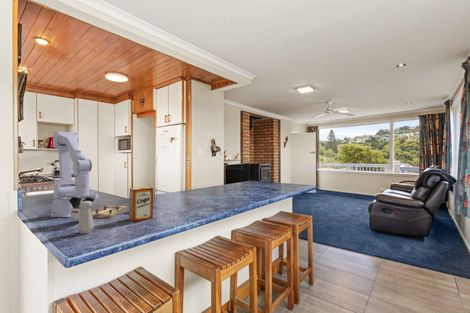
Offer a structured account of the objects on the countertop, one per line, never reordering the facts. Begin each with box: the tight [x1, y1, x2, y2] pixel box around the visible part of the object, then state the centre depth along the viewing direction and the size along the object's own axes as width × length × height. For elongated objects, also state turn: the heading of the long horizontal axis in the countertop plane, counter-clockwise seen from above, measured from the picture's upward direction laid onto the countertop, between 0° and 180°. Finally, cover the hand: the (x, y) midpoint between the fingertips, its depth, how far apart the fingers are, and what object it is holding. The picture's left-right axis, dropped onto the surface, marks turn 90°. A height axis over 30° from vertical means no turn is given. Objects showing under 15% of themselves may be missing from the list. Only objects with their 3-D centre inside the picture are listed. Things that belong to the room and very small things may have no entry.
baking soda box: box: [128, 186, 154, 223], centre depth 114 cm, size 10×6×16 cm
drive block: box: [70, 205, 93, 221], centre depth 106 cm, size 4×9×5 cm, turn 179°
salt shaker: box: [77, 201, 95, 235], centre depth 93 cm, size 6×6×13 cm
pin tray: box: [92, 205, 128, 219], centre depth 122 cm, size 13×17×3 cm
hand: (81, 213), depth 106 cm, fingers closed on drive block, 4 cm apart
